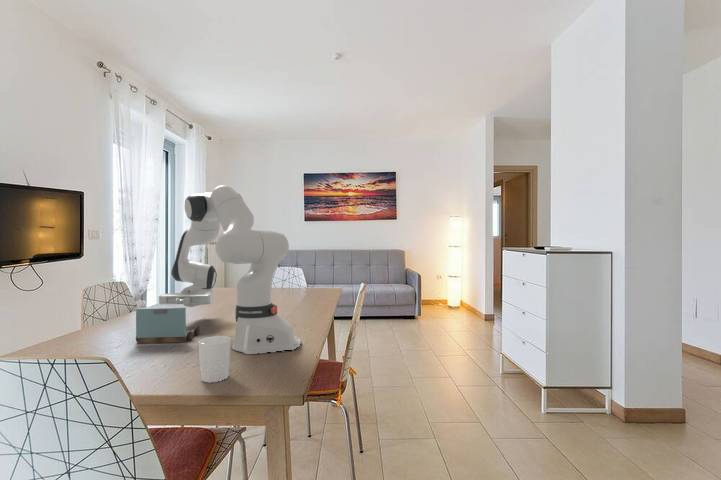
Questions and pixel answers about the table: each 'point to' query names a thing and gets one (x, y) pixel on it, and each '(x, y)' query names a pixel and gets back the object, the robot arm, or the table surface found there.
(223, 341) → the white cup
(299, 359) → the table surface
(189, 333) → the cart bed
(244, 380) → the table surface
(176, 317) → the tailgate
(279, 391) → the table surface
